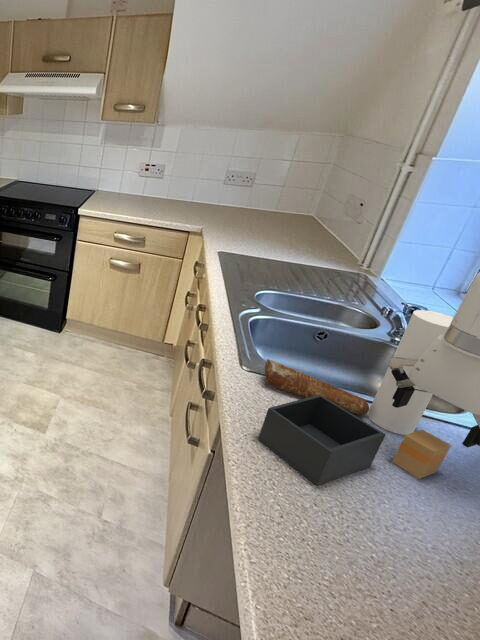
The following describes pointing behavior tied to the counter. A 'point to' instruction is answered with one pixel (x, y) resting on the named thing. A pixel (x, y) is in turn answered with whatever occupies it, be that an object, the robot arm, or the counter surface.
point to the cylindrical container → (412, 345)
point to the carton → (421, 453)
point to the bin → (320, 438)
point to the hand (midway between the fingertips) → (432, 424)
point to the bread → (311, 387)
